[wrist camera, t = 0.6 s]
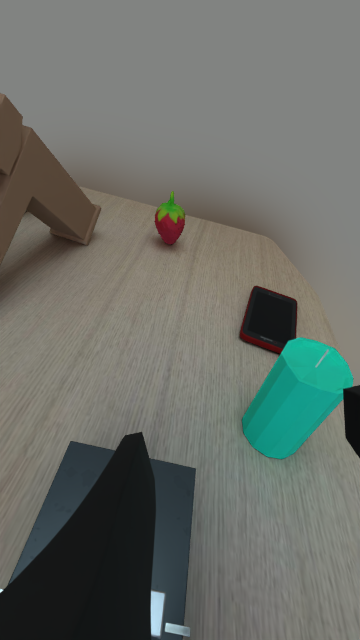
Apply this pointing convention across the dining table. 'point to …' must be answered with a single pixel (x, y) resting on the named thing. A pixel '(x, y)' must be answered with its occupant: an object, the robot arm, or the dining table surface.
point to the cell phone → (269, 319)
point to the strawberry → (170, 220)
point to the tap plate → (170, 526)
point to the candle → (296, 397)
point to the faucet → (37, 185)
